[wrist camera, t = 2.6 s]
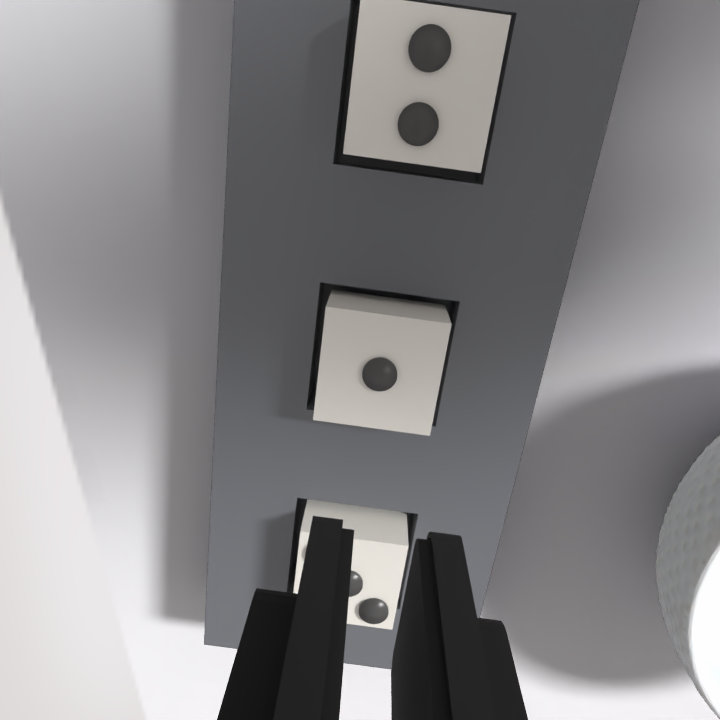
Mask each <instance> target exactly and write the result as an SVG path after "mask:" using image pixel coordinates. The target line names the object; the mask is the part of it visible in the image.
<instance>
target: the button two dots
mask: <svg viewBox="0 0 720 720" xmlns="http://www.w3.org/2000/svg"><path fill="white" fill-rule="evenodd" d="M510 20H511V15H505V14H498V13H491V12H484V11H477V10H470V9H462V8H455V7H448V6H441V5H434V4H427V3H420V2H413V1H406V0H360V8H359V17H358V26H357V35H356V44H355V53H354V61H353V70H352V79H351V88H350V97H349V106H348V114H347V123H346V132H345V141H344V150H343V154H348V155H355V156H362V157H369V158H376V159H384V160H391V161H398V162H405V163H412V164H420V165H427V166H434V167H441V168H448V169H456V170H463V171H470V172H477V173H481V170H482V164H483V159H484V154H485V149H486V144H487V139H488V133H489V128H490V123H491V118H492V113H493V108H494V103H495V97H496V92H497V87H498V82H499V77H500V72H501V66H502V61H503V56H504V51H505V46H506V41H507V35H508V30H509V25H510Z"/></svg>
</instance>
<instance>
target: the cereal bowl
mask: <svg viewBox="0 0 720 720" xmlns="http://www.w3.org/2000/svg"><path fill="white" fill-rule="evenodd" d="M656 572H657V587H658V590H659V601H660V604H661V607H662V612H663V618H664V620H665V622H666V625H667V627H668V631H669V635H670V637H671V639H672V641H673V643H674V645H675V647H676V651H677V654H678V656H679V657H680V659H681V660H682V662H683V664H684V666H685V669H686V671H687V673H688V675H689V676H690V678H691V679H692V681H693V683H694V685H695V687H696V689H697V691H698V692H699V694H700V695H701V696H702V698H703V699H704V700H705V702H706V703H707V704H708V706H709V707H710V708H711V710H712V711H713V712H714V713H715V714H716V715H717V717H718V718H719V719H720V435H719V436H718V437H717V438H715V439H714V440H713V442H712V443H711V444H710V445H709V446H707V447H706V448H705V450H704V451H703V453H702V454H700V456H699V457H697V459H696V461H695V462H694V463H693V464H692V465H691V468H690V470H689V471H688V472H687V474H686V475H685V476H684V477H683V479H682V481H681V482H680V483H679V486H678V488H677V490H676V492H675V493H674V494H673V496H672V500H671V501H670V505H669V506H668V507H667V512H666V514H665V515H664V523H663V525H662V527H661V531H660V534H659V543H658V547H657V561H656Z"/></svg>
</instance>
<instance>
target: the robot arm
mask: <svg viewBox="0 0 720 720" xmlns="http://www.w3.org/2000/svg"><path fill="white" fill-rule="evenodd" d="M342 527H343V520H342V519H334V518H327V517H319V516H313V518H312V523H311V528H310V533H309V538H308V543H307V548H306V554H305V559H304V564H303V569H302V574H301V579H300V584H299V589H298V594H296V593H289V592H281V591H274V590H266V589H259V588H257V589H256V590H255V593H254V596H253V599H252V602H251V605H250V609H249V612H248V616H247V619H246V623H245V626H244V629H243V633H242V636H241V640H240V643H239V647H238V650H237V653H236V657H235V660H234V664H233V667H232V671H231V674H230V677H229V681H228V684H227V688H226V691H225V695H224V698H223V701H222V705H221V708H220V712H219V715H218V719H217V720H339V712H340V700H341V687H342V675H343V663H344V650H345V638H346V626H347V614H348V601H349V589H350V577H351V564H352V552H353V540H354V530H352V529H345V528H342ZM391 696H392V720H528V718H527V714H526V710H525V706H524V702H523V698H522V694H521V690H520V686H519V681H518V677H517V673H516V669H515V665H514V661H513V657H512V653H511V649H510V645H509V641H508V637H507V633H506V630H505V627H504V625H503V623H502V622H501V621H498V620H490V619H483V618H477V614H476V609H475V603H474V598H473V593H472V588H471V583H470V577H469V572H468V567H467V562H466V557H465V551H464V546H463V541H462V537H461V536H460V535H453V534H446V533H438V532H431V531H430V532H429V533H428V535H427V539H419V538H417V539H416V541H415V545H414V550H413V555H412V560H411V565H410V570H409V575H408V581H407V586H406V591H405V596H404V601H403V606H402V611H401V616H400V621H399V626H398V631H397V636H396V641H395V646H394V651H393V658H392V670H391Z"/></svg>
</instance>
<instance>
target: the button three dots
mask: <svg viewBox="0 0 720 720" xmlns="http://www.w3.org/2000/svg"><path fill="white" fill-rule="evenodd" d="M313 516H319V517H327V518H334V519H342V520H343V527H342V528H345V529H352V530H354V540H353V552H352V564H351V577H350V589H349V601H348V614H347V624H353V625H361V626H368V627H376V628H383V629H391V630H392V629H393V624H394V619H395V614H396V609H397V603H398V598H399V593H400V588H401V583H402V578H403V572H404V567H405V562H406V557H407V552H408V547H409V544H408V526H407V512H400V511H392V510H385V509H378V508H370V507H363V506H355V505H348V504H341V503H333V502H326V501H318V500H311V499H307V503H306V508H305V512H304V517H303V521H302V526H301V531H300V539H299V547H298V556H297V565H296V574H295V583H294V592H293V593H296V594H298V589H299V584H300V579H301V574H302V569H303V564H304V559H305V554H306V548H307V543H308V538H309V533H310V528H311V523H312V518H313Z"/></svg>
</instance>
